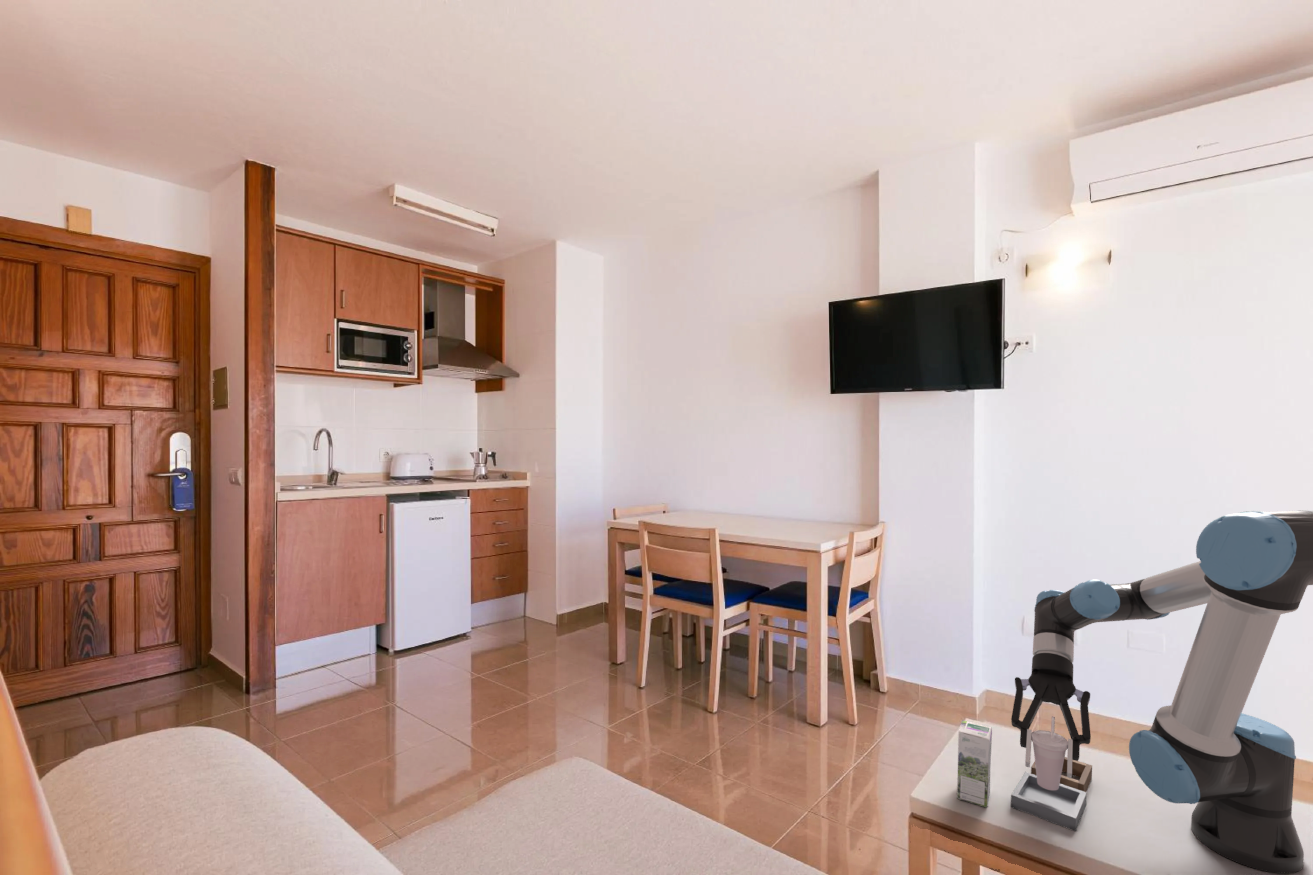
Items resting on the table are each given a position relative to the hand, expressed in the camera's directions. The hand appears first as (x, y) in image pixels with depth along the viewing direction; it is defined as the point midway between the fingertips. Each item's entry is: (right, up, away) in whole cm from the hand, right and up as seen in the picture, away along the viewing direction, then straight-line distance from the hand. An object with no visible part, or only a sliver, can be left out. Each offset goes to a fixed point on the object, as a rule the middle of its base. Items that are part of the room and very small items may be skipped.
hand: (1048, 769), depth 126 cm
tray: (+2, -9, +3) cm, 10 cm away
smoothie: (+2, -5, +3) cm, 6 cm away
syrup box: (-12, -9, +6) cm, 16 cm away
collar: (+10, -8, +12) cm, 18 cm away
